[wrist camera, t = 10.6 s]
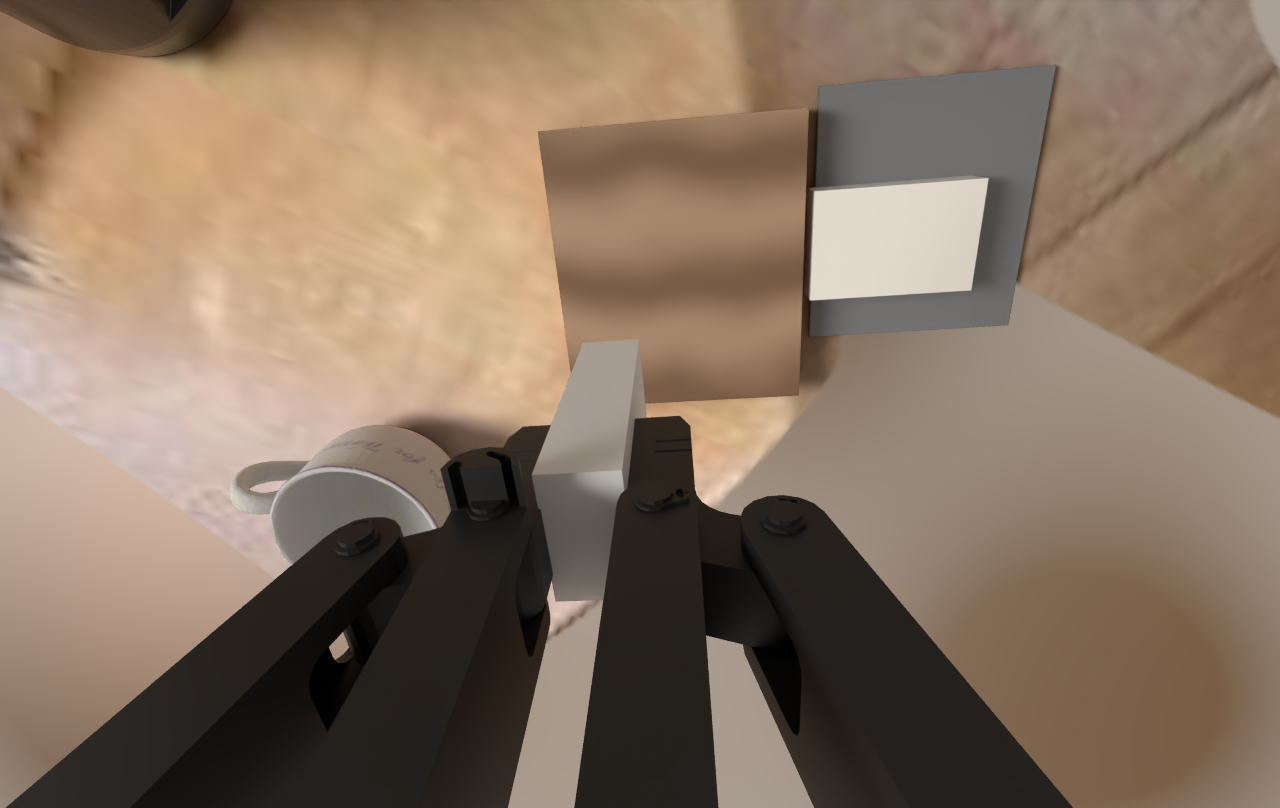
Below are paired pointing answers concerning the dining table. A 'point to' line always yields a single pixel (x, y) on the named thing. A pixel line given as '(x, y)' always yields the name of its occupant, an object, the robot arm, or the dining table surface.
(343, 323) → the dining table surface
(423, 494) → the teacup
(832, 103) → the mat
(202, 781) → the robot arm
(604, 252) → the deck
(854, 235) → the white rectangular block
